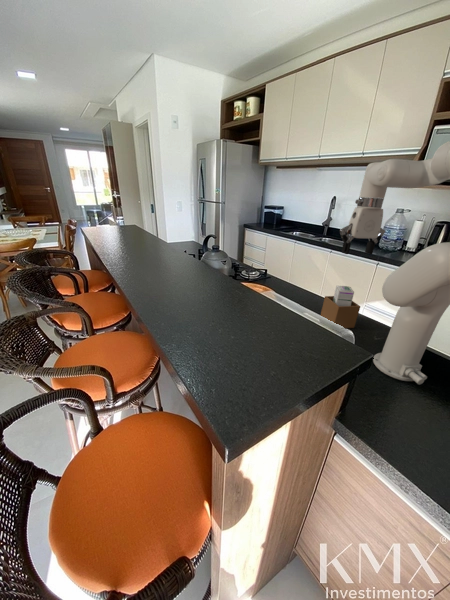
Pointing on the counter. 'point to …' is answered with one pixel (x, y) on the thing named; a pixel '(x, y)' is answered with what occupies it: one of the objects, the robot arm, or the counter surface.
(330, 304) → the brown open bin
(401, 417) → the counter surface
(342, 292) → the syrup box
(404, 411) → the counter surface
